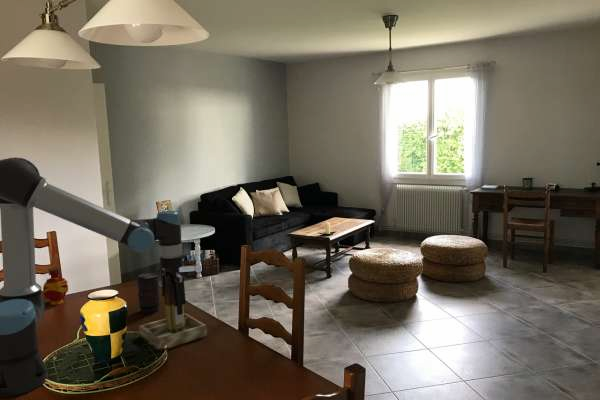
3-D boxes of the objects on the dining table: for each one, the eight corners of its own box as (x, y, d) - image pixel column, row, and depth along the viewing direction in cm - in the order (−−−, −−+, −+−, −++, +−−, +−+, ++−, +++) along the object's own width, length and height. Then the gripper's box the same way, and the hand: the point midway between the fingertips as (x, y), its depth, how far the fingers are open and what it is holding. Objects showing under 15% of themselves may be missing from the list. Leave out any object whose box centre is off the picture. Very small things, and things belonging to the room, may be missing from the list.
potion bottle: (38, 307, 198) (35, 272, 196) (52, 298, 208) (49, 266, 206) (62, 306, 198) (59, 272, 196) (75, 298, 208) (72, 265, 206)
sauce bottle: (187, 327, 167) (184, 273, 164) (181, 334, 160) (178, 278, 158) (169, 326, 167) (166, 273, 165) (163, 334, 161) (159, 278, 158)
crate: (158, 351, 154) (157, 339, 153) (139, 336, 166) (139, 325, 166) (207, 335, 165) (206, 325, 165) (186, 322, 178) (185, 312, 177)
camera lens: (149, 315, 186) (147, 279, 184) (135, 312, 190) (132, 276, 188) (164, 309, 192) (162, 274, 191) (150, 306, 196) (148, 271, 195)
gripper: (194, 258, 155) (197, 325, 159) (169, 249, 170) (172, 310, 173) (173, 263, 151) (177, 331, 154) (149, 252, 165) (153, 315, 168)
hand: (174, 319), depth 163 cm, fingers closed on sauce bottle, 6 cm apart
